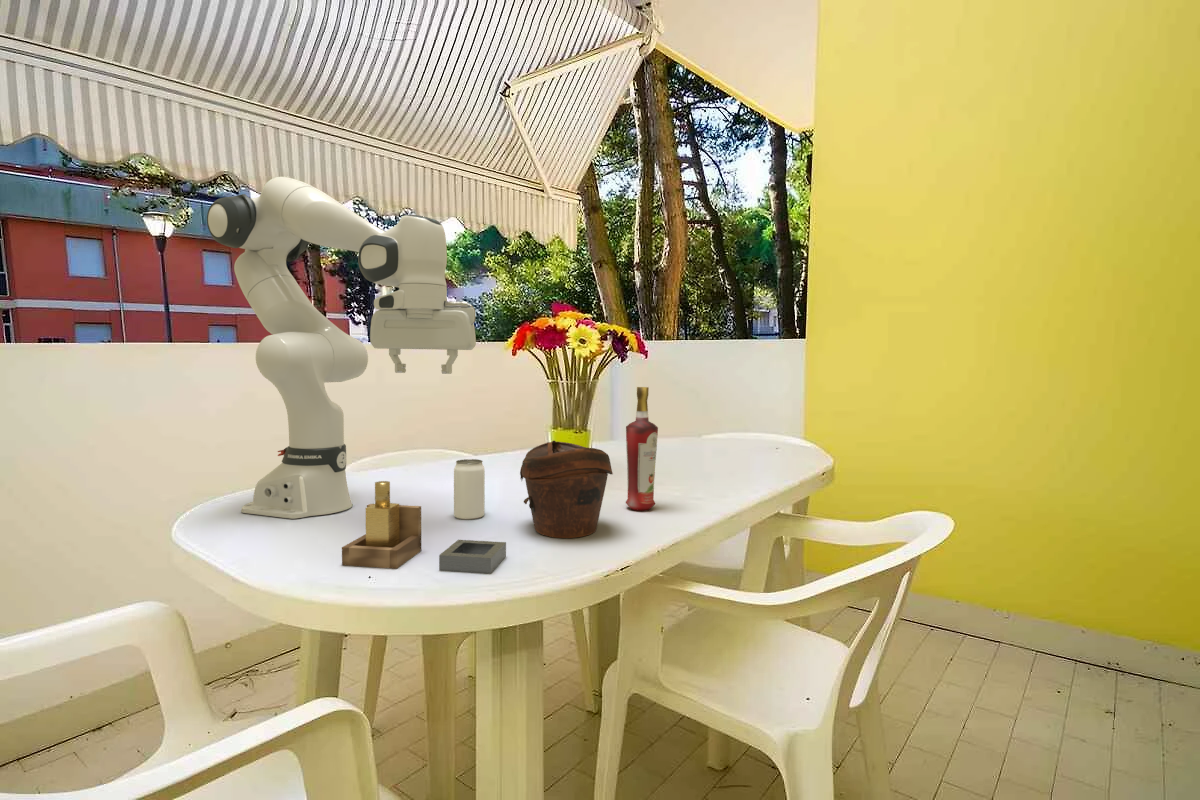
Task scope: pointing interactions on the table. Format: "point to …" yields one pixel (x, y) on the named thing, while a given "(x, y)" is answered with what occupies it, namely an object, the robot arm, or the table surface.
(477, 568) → the socket block
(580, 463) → the case
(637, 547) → the table surface
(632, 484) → the liquor
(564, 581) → the table surface
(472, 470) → the can
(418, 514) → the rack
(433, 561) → the table surface
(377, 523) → the brass peg block
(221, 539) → the table surface
